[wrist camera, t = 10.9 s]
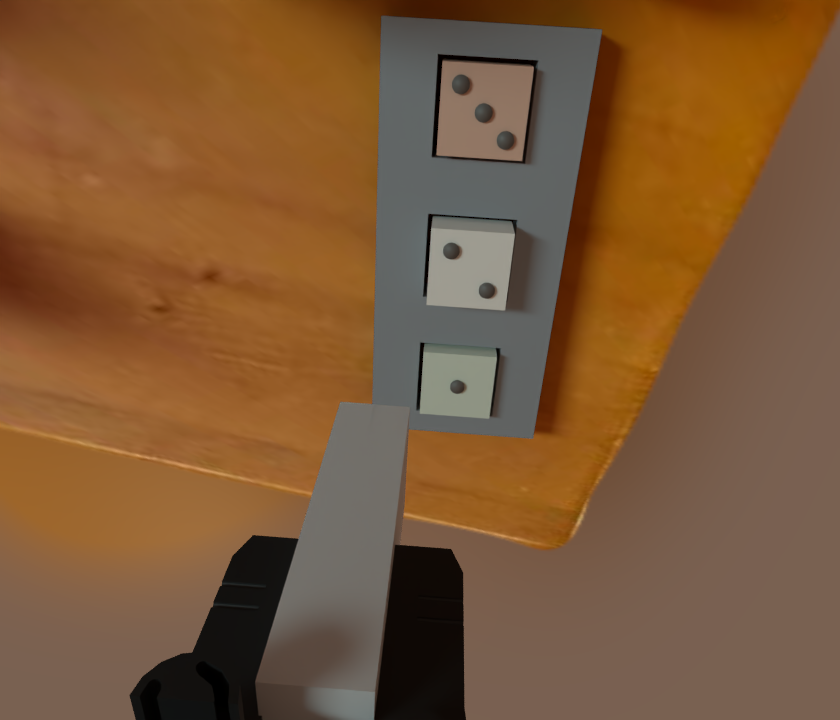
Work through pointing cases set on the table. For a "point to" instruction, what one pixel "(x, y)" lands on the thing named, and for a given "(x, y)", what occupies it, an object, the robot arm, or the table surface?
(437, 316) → the key board
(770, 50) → the table surface
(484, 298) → the key two
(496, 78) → the key three
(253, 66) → the table surface
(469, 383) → the key one
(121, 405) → the table surface
